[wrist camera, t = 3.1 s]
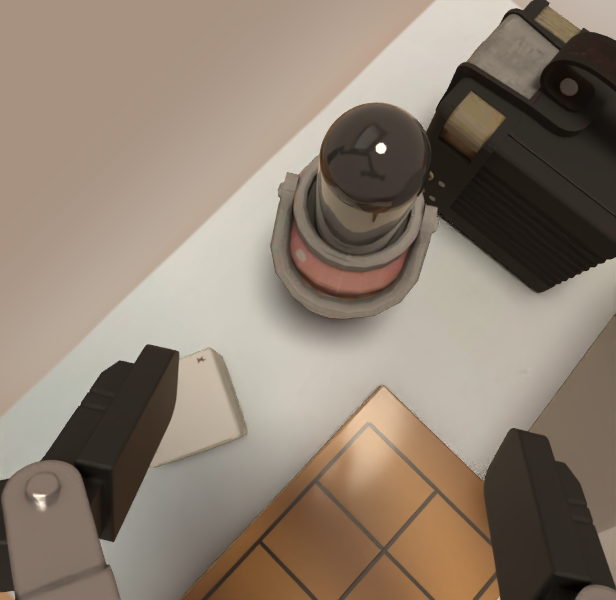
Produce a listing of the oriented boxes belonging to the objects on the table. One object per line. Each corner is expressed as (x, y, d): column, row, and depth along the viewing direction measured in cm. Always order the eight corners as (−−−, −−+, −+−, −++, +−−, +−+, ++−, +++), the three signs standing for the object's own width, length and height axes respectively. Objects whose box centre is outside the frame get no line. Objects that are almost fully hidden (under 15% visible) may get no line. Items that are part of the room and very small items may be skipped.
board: (324, 794, 33) (325, 810, 32) (163, 616, 35) (158, 624, 33) (537, 537, 36) (545, 541, 35) (380, 385, 38) (383, 384, 37)
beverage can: (381, 349, 38) (422, 322, 27) (263, 321, 39) (251, 281, 27) (407, 225, 40) (456, 148, 29) (294, 198, 40) (296, 111, 29)
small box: (142, 382, 37) (120, 377, 33) (223, 353, 38) (213, 344, 33) (167, 464, 36) (148, 472, 32) (250, 433, 37) (244, 436, 32)
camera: (476, 81, 43) (575, -92, 28) (624, 193, 41) (810, 72, 27) (388, 180, 41) (445, 50, 26) (540, 301, 39) (690, 236, 25)
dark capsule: (315, 257, 27) (325, 194, 19) (310, 172, 28) (319, 79, 20) (404, 253, 27) (451, 190, 19) (397, 170, 28) (439, 77, 20)
